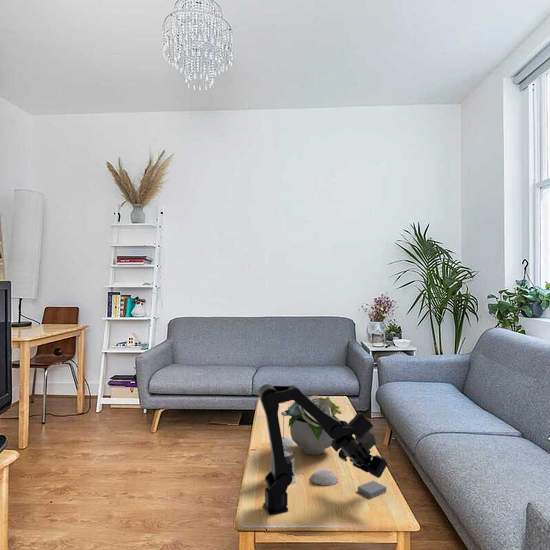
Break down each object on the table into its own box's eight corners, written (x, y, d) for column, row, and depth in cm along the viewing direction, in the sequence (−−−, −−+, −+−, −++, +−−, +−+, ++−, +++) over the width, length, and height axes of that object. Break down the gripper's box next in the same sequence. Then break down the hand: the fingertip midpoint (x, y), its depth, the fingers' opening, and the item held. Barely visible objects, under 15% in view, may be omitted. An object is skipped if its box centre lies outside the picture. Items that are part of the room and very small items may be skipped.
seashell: (303, 473, 155) (318, 458, 163) (305, 486, 156) (320, 471, 164) (327, 480, 149) (341, 465, 156) (329, 495, 150) (343, 479, 157)
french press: (295, 473, 162) (296, 407, 162) (297, 487, 150) (297, 417, 150) (270, 473, 162) (270, 407, 162) (270, 487, 150) (270, 417, 150)
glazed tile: (370, 493, 143) (386, 487, 148) (357, 486, 148) (373, 480, 152) (370, 499, 143) (386, 492, 147) (357, 492, 148) (373, 486, 152)
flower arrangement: (309, 468, 166) (309, 406, 166) (274, 447, 186) (274, 392, 187) (355, 454, 179) (355, 397, 180) (318, 436, 200) (318, 385, 201)
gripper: (383, 435, 138) (405, 461, 144) (344, 419, 154) (365, 443, 159) (366, 464, 133) (390, 490, 139) (327, 445, 149) (350, 469, 155)
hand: (373, 471), depth 148 cm, fingers closed
